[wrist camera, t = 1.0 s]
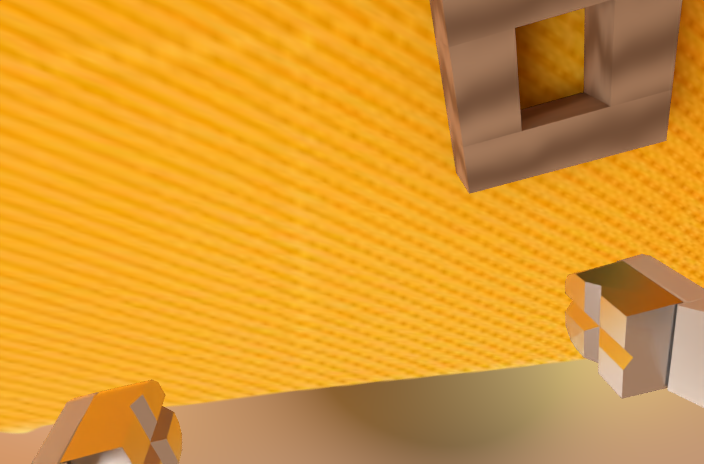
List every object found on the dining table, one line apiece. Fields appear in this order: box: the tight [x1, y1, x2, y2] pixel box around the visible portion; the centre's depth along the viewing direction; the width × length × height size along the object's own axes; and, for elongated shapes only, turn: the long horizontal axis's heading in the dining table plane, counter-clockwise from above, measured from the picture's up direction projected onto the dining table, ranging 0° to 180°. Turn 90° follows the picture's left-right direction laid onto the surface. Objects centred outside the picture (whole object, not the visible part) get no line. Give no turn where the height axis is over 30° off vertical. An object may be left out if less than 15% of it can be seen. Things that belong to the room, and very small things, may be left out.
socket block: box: [430, 0, 682, 193], centre depth 44 cm, size 20×20×5 cm
